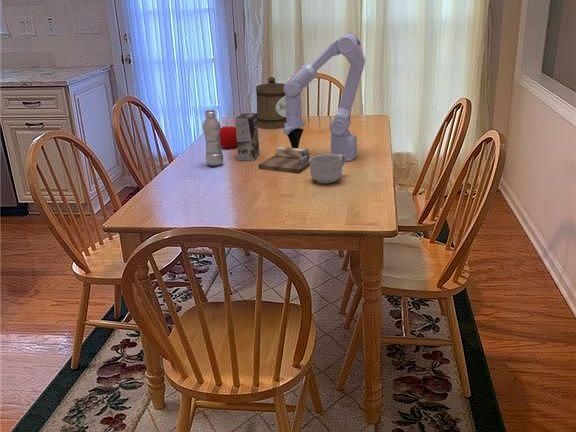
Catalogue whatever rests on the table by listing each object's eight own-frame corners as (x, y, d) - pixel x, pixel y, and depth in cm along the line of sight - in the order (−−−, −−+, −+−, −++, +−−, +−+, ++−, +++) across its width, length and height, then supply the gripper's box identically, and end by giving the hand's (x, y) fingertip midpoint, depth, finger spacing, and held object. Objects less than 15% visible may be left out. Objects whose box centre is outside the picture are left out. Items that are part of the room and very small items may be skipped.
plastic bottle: (227, 163, 211) (222, 109, 203) (217, 168, 205) (212, 113, 198) (212, 161, 214) (207, 108, 206) (202, 166, 208) (197, 112, 200)
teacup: (320, 188, 182) (319, 164, 179) (303, 179, 191) (303, 156, 188) (356, 180, 188) (356, 157, 185) (338, 171, 197) (338, 149, 194)
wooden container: (286, 129, 256) (284, 79, 247) (254, 129, 258) (251, 80, 250) (292, 121, 269) (290, 74, 261) (261, 121, 272) (258, 74, 263)
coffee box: (254, 160, 212) (251, 118, 206) (237, 160, 214) (234, 118, 207) (260, 154, 221) (257, 112, 214) (244, 153, 222) (241, 112, 216)
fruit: (242, 143, 235) (240, 120, 232) (238, 150, 227) (236, 125, 223) (220, 144, 236) (218, 120, 233) (216, 150, 228) (213, 125, 224)
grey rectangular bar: (310, 156, 208) (310, 149, 207) (306, 159, 206) (306, 151, 205) (279, 153, 213) (279, 146, 212) (276, 155, 211) (275, 148, 210)
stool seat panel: (316, 161, 209) (316, 151, 207) (299, 173, 197) (298, 162, 195) (277, 157, 216) (277, 147, 214) (258, 168, 203) (258, 158, 202)
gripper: (292, 108, 218) (293, 142, 223) (275, 116, 206) (276, 152, 211) (309, 109, 215) (310, 144, 220) (292, 117, 203) (294, 154, 208)
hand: (295, 148), depth 215 cm, fingers closed
